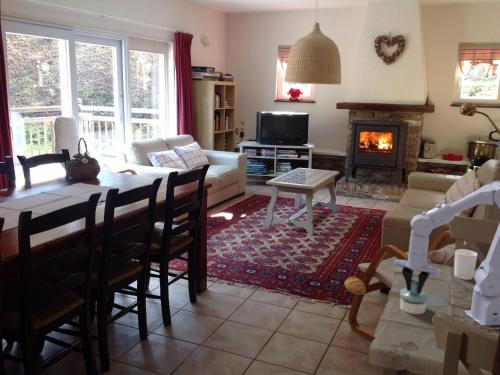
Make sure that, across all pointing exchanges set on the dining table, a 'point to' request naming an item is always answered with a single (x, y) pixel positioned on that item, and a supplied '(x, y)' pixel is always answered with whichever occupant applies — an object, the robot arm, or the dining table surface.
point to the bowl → (412, 306)
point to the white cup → (464, 264)
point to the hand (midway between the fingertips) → (414, 291)
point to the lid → (414, 293)
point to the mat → (435, 301)
